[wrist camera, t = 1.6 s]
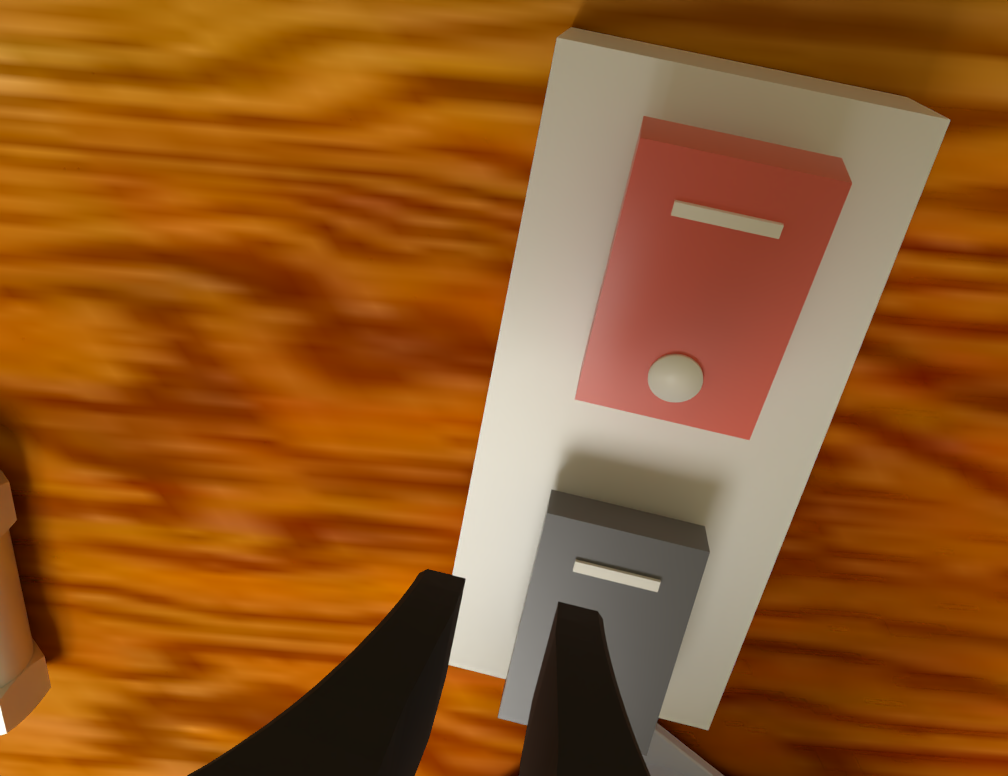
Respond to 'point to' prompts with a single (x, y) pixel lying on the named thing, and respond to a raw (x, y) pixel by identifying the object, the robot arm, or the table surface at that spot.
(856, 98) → the rocker switch panel
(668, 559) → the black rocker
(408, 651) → the robot arm
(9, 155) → the table surface
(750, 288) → the red rocker
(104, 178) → the table surface
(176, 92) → the table surface
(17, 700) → the pipe fitting
